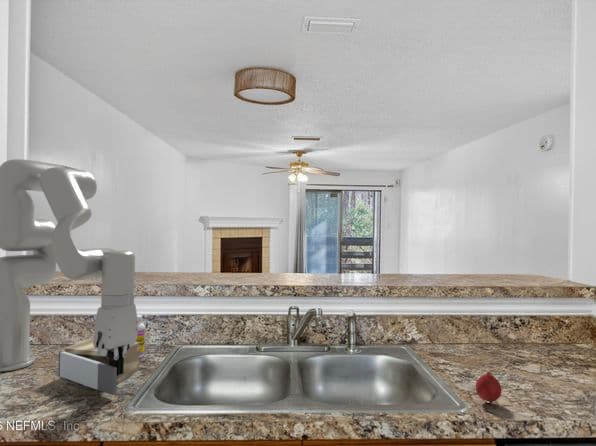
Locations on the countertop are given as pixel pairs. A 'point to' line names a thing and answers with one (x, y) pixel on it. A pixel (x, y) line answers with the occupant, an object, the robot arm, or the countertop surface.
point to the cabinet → (90, 352)
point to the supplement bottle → (140, 335)
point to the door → (88, 372)
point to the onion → (488, 387)
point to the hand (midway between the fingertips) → (116, 373)
